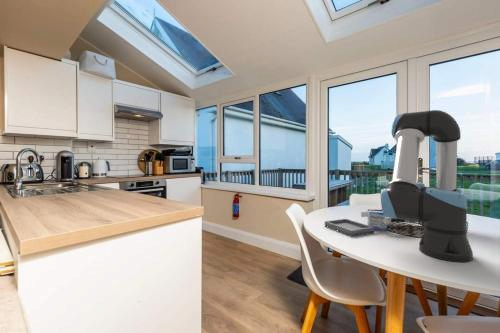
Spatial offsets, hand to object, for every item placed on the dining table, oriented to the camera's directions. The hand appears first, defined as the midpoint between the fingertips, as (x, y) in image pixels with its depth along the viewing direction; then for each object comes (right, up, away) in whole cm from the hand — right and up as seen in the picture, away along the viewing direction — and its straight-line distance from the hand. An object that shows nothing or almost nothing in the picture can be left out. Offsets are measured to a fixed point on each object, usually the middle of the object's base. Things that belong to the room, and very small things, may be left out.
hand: (372, 217), depth 117 cm
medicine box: (+3, -6, +1) cm, 7 cm away
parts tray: (-12, -6, +1) cm, 13 cm away
